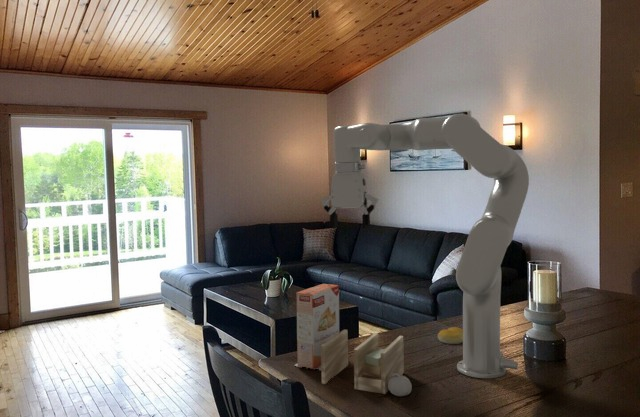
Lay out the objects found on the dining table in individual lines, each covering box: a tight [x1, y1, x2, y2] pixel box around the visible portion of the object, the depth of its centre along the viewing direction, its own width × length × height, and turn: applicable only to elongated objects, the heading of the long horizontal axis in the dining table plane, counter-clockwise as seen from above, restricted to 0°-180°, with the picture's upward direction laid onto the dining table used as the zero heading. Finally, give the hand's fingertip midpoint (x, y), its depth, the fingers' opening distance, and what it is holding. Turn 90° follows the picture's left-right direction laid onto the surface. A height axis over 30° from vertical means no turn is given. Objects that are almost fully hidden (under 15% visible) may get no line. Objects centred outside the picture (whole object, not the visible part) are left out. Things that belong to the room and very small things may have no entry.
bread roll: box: [437, 326, 463, 345], centre depth 175 cm, size 8×9×4 cm
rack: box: [320, 329, 405, 395], centre depth 145 cm, size 17×15×10 cm
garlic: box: [388, 373, 413, 397], centre depth 135 cm, size 6×5×5 cm
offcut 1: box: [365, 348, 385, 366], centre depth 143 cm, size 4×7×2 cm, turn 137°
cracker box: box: [296, 283, 340, 370], centre depth 158 cm, size 14×6×21 cm, turn 147°
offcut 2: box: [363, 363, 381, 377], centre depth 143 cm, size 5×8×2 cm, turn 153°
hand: (350, 228), depth 162 cm, fingers open, 9 cm apart
